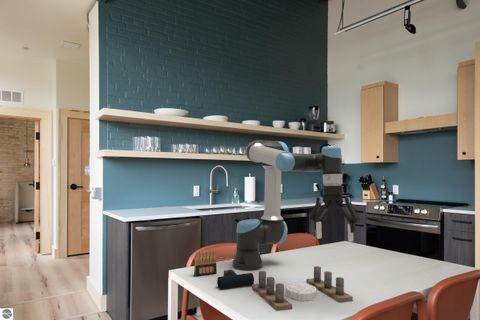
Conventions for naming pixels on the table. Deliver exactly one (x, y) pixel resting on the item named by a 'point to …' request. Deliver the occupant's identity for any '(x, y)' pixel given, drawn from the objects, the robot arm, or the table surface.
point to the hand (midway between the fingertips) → (334, 239)
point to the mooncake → (301, 291)
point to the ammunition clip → (205, 264)
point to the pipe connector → (234, 280)
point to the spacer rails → (281, 303)
